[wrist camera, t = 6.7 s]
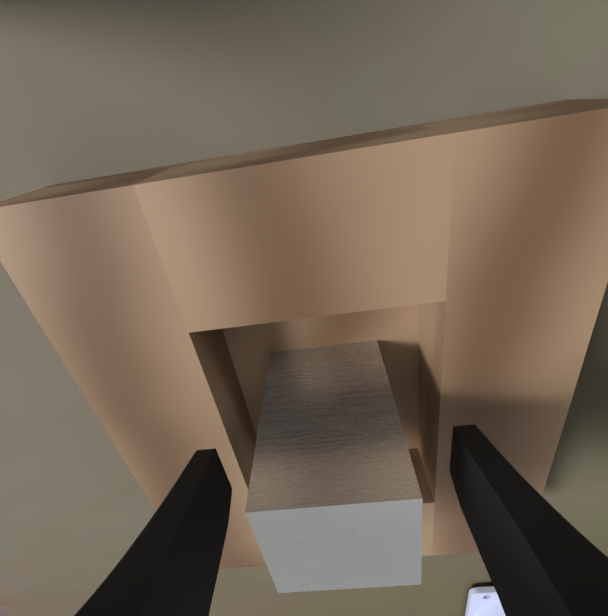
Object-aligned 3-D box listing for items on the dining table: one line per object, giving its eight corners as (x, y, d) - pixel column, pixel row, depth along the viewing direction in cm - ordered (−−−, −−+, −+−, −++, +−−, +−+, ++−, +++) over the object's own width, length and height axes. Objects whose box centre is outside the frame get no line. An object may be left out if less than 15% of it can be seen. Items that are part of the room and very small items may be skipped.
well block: (567, 99, 10) (663, 98, 7) (494, 484, 18) (526, 549, 15) (51, 185, 11) (-31, 211, 8) (208, 507, 19) (192, 570, 17)
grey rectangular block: (376, 340, 13) (422, 498, 8) (381, 417, 15) (421, 584, 10) (269, 352, 13) (245, 512, 8) (288, 426, 15) (278, 592, 10)
